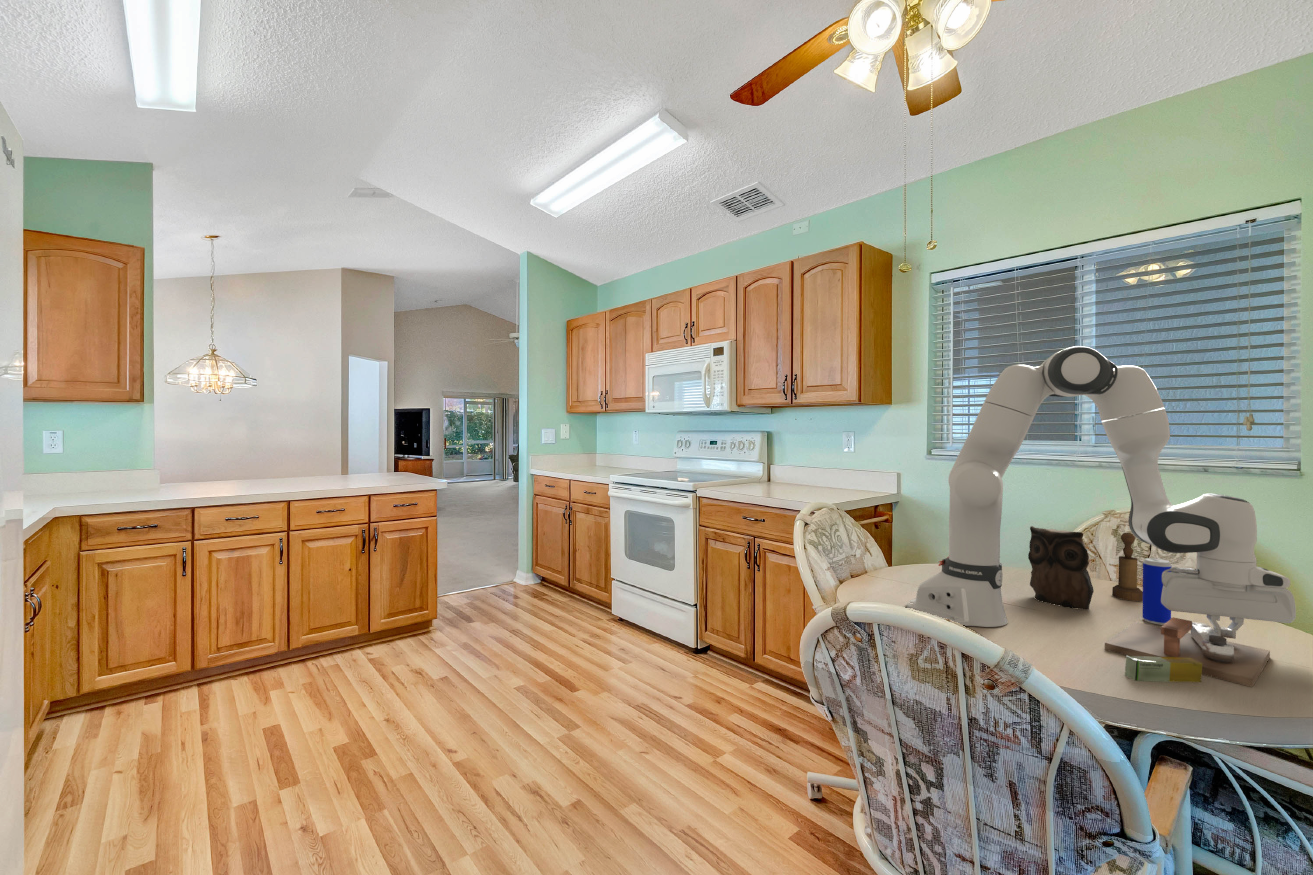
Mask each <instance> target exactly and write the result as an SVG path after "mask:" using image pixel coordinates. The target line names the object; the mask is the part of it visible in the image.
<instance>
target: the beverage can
mask: <svg viewBox="0 0 1313 875" xmlns="http://www.w3.org/2000/svg"><path fill="white" fill-rule="evenodd" d="M1170 568H1172V564H1171V561H1169V560H1167V559H1163V558H1153V557H1146V558H1144V560H1143V562H1142V591H1143V600H1142V616H1141V618H1142V619H1143V620H1144V621H1145V622H1147V623H1150V624H1152V625H1160V626H1163V625H1164V624H1165V623H1166V622H1168V621H1169V620H1170V619H1171V618H1172V611H1170V610H1169V609H1167V608H1166V607H1165V606H1164V605H1163V604H1162V603H1161V594H1162V589H1163V584H1162V573H1163V572H1164V571H1165V570H1167V569H1170ZM1168 572H1171V571H1168Z"/></svg>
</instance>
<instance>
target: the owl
mask: <svg viewBox="0 0 1313 875" xmlns="http://www.w3.org/2000/svg"><path fill="white" fill-rule="evenodd" d="M1029 531H1030V535H1031V536H1030V540H1029V545H1028V546H1029V548H1028V549H1029V551H1028V556H1027V557H1028V560H1029V563H1030V565H1031V571H1030V575H1031V576H1030V581H1029V586H1030V587H1031V588H1032V589H1033V591H1034V593H1035V595H1034V597H1035V598H1036V599H1037V600H1036V599H1035V600H1036V601H1038V600H1039V601H1038V602H1040V601H1043V602H1042V603H1044V602H1047V604H1050V603H1051V605H1052V604H1055V605H1054V606H1058V605H1060V606H1059V607H1062V608H1065V609H1066V608H1067V609H1073V608H1078V610H1086V611H1089V610H1090V604H1091V601H1092V598H1093V595H1094V587H1093V584H1092V583H1093V582H1092V580H1091V577H1090V574H1089V571H1088V567H1089V565H1090V562H1089V558H1090V556H1089V553H1088V549H1087V548H1086V545H1085V542H1084V540H1083V539H1084V538H1083V537H1084V533H1083V532H1081V531H1070V530H1064V529H1063V530H1062V529H1061V530H1060V529H1059V530H1058V529H1056V528H1044V527H1041V528H1040V527H1035V526H1034V525H1031V526H1029Z"/></svg>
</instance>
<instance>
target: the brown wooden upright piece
mask: <svg viewBox="0 0 1313 875" xmlns="http://www.w3.org/2000/svg"><path fill="white" fill-rule="evenodd" d="M1120 540H1121V541H1122V543H1123V544H1124V547H1123V548H1122V551H1123V552H1122V553H1123V555H1120V556H1118V579H1117V580H1118V584H1116V585H1115V586H1113V587H1112V592H1111V594H1112V597H1115V598H1116V599H1120V600H1125V601H1131V602H1143V590H1141V589H1140V588H1139V587H1138V557H1132V556H1133V553H1134V549H1133V548H1132V545H1133V544H1134V542H1135V540H1136V537H1135V536H1134V534H1133V533H1132V532H1123V533H1122V534H1121V536H1120Z"/></svg>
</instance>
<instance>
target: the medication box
mask: <svg viewBox="0 0 1313 875" xmlns="http://www.w3.org/2000/svg"><path fill="white" fill-rule="evenodd" d="M1124 670H1125V672H1124V676H1125V677H1127V678H1128V679H1131V680H1132V681H1134V682H1135V681H1137V682H1142V681H1143V682H1172V683H1173V682H1174V683H1175V682H1176V683H1179V682H1180V683H1202V678H1203V675H1202V663H1200V662H1198V661H1196V660H1194V659H1192V658H1185V657H1149V656H1127V655H1125V667H1124Z"/></svg>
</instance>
